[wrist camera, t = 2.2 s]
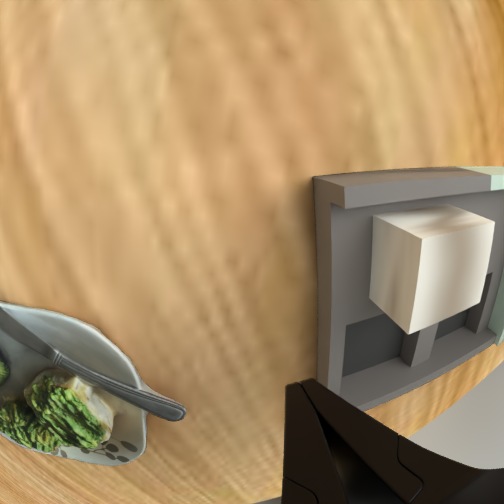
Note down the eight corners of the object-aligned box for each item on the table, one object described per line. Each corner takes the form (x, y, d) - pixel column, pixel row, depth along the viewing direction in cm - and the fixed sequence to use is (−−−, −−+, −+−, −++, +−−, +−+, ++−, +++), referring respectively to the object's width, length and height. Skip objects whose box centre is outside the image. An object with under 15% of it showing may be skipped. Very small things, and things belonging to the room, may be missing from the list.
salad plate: (196, 298, 17) (202, 348, 13) (179, 461, 23) (183, 502, 19) (-61, 257, 12) (-98, 284, 8) (-5, 424, 18) (-18, 457, 14)
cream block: (447, 203, 16) (495, 221, 12) (439, 275, 18) (479, 302, 14) (372, 215, 15) (422, 239, 11) (369, 298, 17) (408, 334, 13)
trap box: (503, 166, 19) (538, 175, 15) (477, 322, 25) (502, 342, 21) (312, 176, 16) (350, 188, 12) (316, 390, 22) (336, 427, 18)
